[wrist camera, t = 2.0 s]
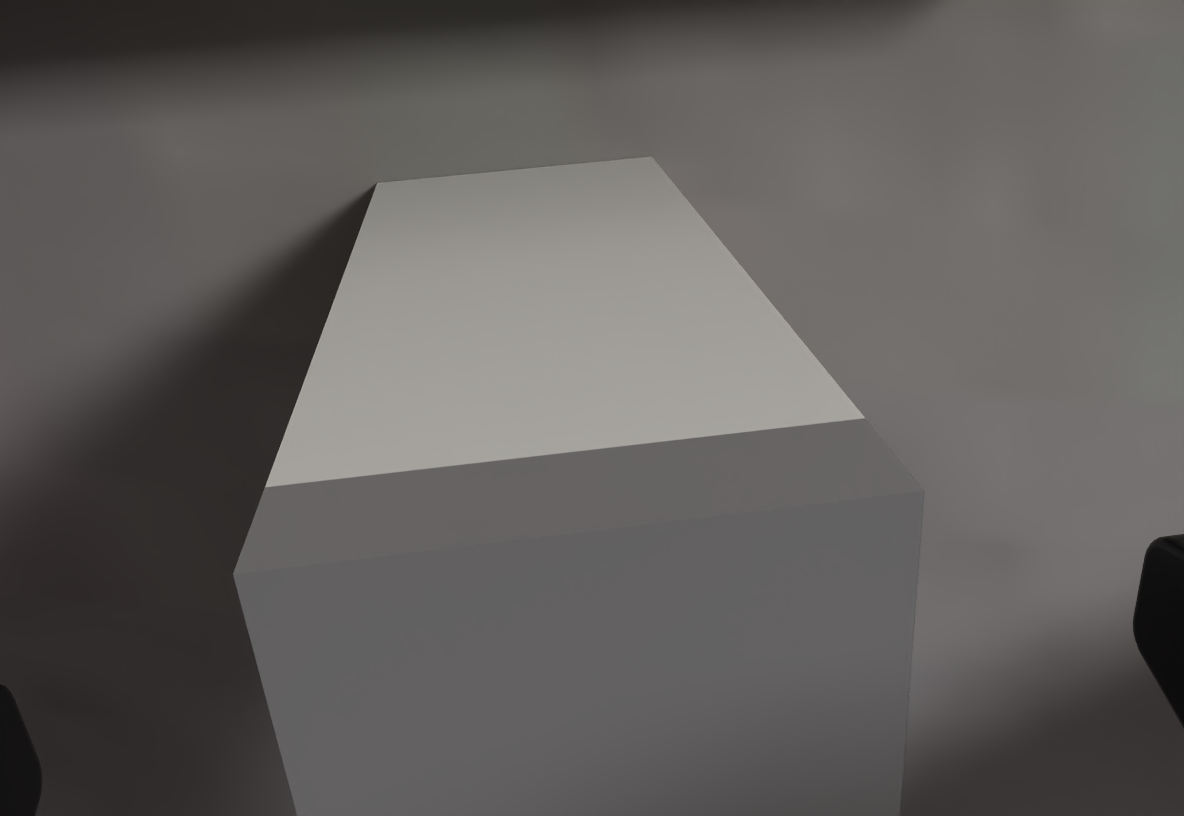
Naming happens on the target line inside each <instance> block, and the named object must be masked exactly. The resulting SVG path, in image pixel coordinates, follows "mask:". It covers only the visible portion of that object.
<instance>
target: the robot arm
mask: <svg viewBox="0 0 1184 816" xmlns="http://www.w3.org/2000/svg"><path fill="white" fill-rule="evenodd" d="M1133 632H1134V636H1135V641H1136V643H1137V646H1138V649H1139V651H1140V653H1141V655H1142V657H1143V659H1144V660H1145V662H1146V664H1147V665H1148V667H1149V669H1150V671H1151V672H1152V674H1153V676H1154V678H1155V679H1156V681H1157V683H1158V685H1159V686H1160V688H1161V690H1162V692H1163V693H1164V695H1165V697H1166V698H1167V700H1168V702H1169V704H1170V705H1171V707H1172V709H1173V711H1174V712H1175V714H1176V716H1177V718H1178V719H1179V721H1180V723H1181V725H1182V726H1183V728H1184V534H1180V535H1172V536H1164V537H1160V538H1158V539H1156V540H1154V541H1153V542H1152V543H1151V544H1150V545H1149V547H1148V549H1147V550H1146V554H1145V558H1144V563H1143V568H1142V574H1141V579H1140V585H1139V590H1138V595H1137V601H1136V606H1135V612H1134V617H1133ZM41 788H42V772H41V766H40V762H39V759H38V756H37V754H36V751H35V749H34V746H33V744H32V741H31V739H30V736H29V734H28V732H27V729H26V727H25V724H24V722H23V719H22V717H21V714H20V712H19V709H18V707H17V704H16V702H15V699H14V697H13V695H12V694H11V692H10V691H9V690H8V689H7V687H6V686H4V685H2V684H0V816H35V815H36V811H37V808H38V804H39V800H40V795H41Z"/></svg>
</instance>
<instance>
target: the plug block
mask: <svg viewBox="0 0 1184 816" xmlns="http://www.w3.org/2000/svg"><path fill="white" fill-rule="evenodd" d="M923 503H924V490H923V489H922V487H921V486H920V485H919V484H918V482H917V481H916V480H915V479H914V477H913V476H912V475H911V474H910V473H909V471H908V470H907V469H906V468H905V466H904V465H903V464H902V463H901V462H900V460H899V459H898V458H897V457H896V455H895V454H894V453H893V452H892V451H891V449H890V448H889V447H888V446H887V444H886V443H885V442H884V441H883V439H882V438H881V437H880V436H879V435H878V433H877V432H876V431H875V430H874V428H873V427H872V426H871V425H870V424H869V422H868V421H867V420H866V419H865V417H864V416H863V415H862V414H861V413H860V411H859V410H858V409H857V408H856V406H855V405H854V404H853V403H852V402H851V400H850V399H849V398H848V397H847V395H846V394H845V393H844V392H843V391H842V389H841V388H840V387H839V386H838V384H837V383H836V382H835V381H834V379H833V378H832V377H831V376H830V375H829V373H828V372H827V371H826V370H825V368H824V367H823V366H822V365H821V364H820V362H819V361H818V360H817V359H816V357H815V356H814V355H813V354H812V353H811V351H810V350H809V349H808V348H807V346H806V345H805V344H804V343H803V341H802V340H801V339H800V338H799V337H798V335H797V334H796V333H795V332H794V330H793V329H792V328H791V327H790V326H789V324H788V323H787V322H786V321H785V319H784V318H783V317H782V316H781V315H780V313H779V312H778V311H777V310H776V308H775V307H774V306H773V305H772V304H771V302H770V301H769V300H768V299H767V297H766V296H765V295H764V294H763V292H762V291H761V290H760V289H759V288H758V286H757V285H756V284H755V283H754V281H753V280H752V279H751V278H750V277H749V275H748V274H747V273H746V272H745V270H744V269H743V268H742V267H741V266H740V264H739V263H738V262H737V261H736V259H735V258H734V257H733V256H732V255H731V253H730V252H729V251H728V250H727V248H726V247H725V246H724V245H723V243H722V242H721V241H720V240H719V239H718V237H717V236H716V235H715V234H714V232H713V231H712V230H711V229H710V228H709V226H708V225H707V224H706V223H705V221H704V220H703V219H702V218H701V217H700V215H699V214H698V213H697V212H696V210H695V209H694V208H693V207H692V206H691V204H690V203H689V202H688V201H687V199H686V198H685V197H684V196H683V194H682V193H681V192H680V191H679V190H678V188H677V187H676V186H675V185H674V183H673V182H672V181H671V180H670V179H669V177H668V176H667V175H666V174H665V172H664V171H663V170H662V169H661V168H660V166H659V165H658V164H657V163H656V161H655V160H654V159H653V158H652V157H642V158H632V159H621V160H611V161H601V162H590V163H580V164H569V165H559V166H549V167H538V168H528V169H517V170H507V171H497V172H486V173H476V174H466V175H455V176H445V177H434V178H424V179H414V180H403V181H393V182H382V183H377V185H376V188H375V191H374V193H373V196H372V199H371V201H370V204H369V207H368V210H367V212H366V215H365V218H364V220H363V223H362V226H361V229H360V231H359V234H358V237H357V239H356V242H355V245H354V247H353V250H352V253H351V256H350V258H349V261H348V264H347V266H346V269H345V272H344V275H343V277H342V280H341V283H340V285H339V288H338V291H337V294H336V296H335V299H334V302H333V304H332V307H331V310H330V313H329V315H328V318H327V321H326V323H325V326H324V329H323V331H322V334H321V337H320V340H319V342H318V345H317V348H316V350H315V353H314V356H313V359H312V361H311V364H310V367H309V369H308V372H307V375H306V378H305V380H304V383H303V386H302V388H301V391H300V394H299V396H298V399H297V402H296V405H295V407H294V410H293V413H292V415H291V418H290V421H289V424H288V426H287V429H286V432H285V434H284V437H283V440H282V443H281V445H280V448H279V451H278V453H277V456H276V459H275V461H274V464H273V467H272V470H271V472H270V475H269V478H268V480H267V483H266V486H265V489H264V491H263V494H262V497H261V499H260V502H259V505H258V508H257V510H256V513H255V516H254V518H253V521H252V524H251V527H250V529H249V532H248V535H247V537H246V540H245V543H244V545H243V548H242V551H241V554H240V556H239V559H238V562H237V564H236V567H235V570H234V573H233V576H234V580H235V584H236V588H237V591H238V595H239V599H240V603H241V606H242V610H243V614H244V618H245V622H246V625H247V629H248V633H249V637H250V640H251V644H252V648H253V652H254V655H255V659H256V663H257V667H258V670H259V674H260V678H261V682H262V685H263V689H264V693H265V697H266V700H267V704H268V708H269V712H270V715H271V719H272V723H273V727H274V730H275V734H276V738H277V742H278V745H279V749H280V753H281V757H282V760H283V764H284V768H285V772H286V776H287V779H288V783H289V787H290V791H291V794H292V798H293V802H294V806H295V809H296V813H297V816H900V809H901V795H902V782H903V769H904V755H905V742H906V729H907V715H908V702H909V689H910V676H911V662H912V649H913V636H914V622H915V609H916V596H917V583H918V569H919V556H920V543H921V529H922V516H923Z"/></svg>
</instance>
